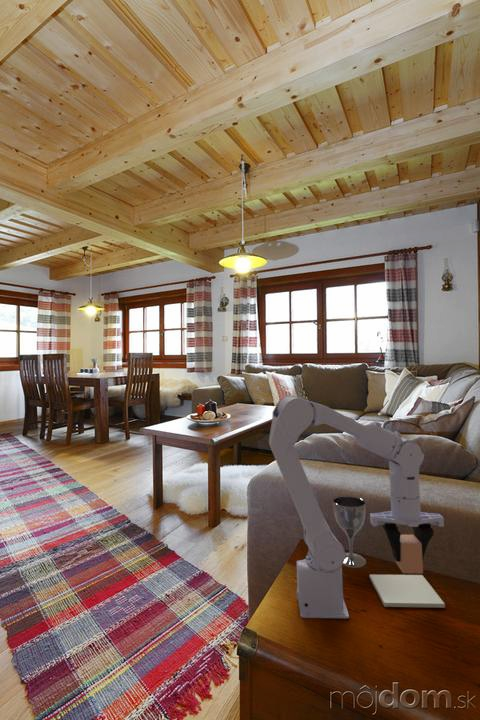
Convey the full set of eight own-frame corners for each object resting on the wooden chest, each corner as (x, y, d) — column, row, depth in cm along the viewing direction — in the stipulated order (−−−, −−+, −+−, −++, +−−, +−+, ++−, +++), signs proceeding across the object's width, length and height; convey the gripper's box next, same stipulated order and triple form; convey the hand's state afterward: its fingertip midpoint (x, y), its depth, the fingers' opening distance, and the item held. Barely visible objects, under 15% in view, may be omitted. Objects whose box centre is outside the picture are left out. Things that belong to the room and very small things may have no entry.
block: (402, 573, 71) (401, 543, 71) (395, 562, 75) (394, 534, 75) (423, 573, 71) (421, 543, 71) (414, 562, 75) (413, 534, 75)
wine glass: (373, 559, 89) (370, 500, 90) (359, 572, 83) (356, 509, 84) (344, 549, 95) (342, 493, 95) (329, 561, 89) (327, 502, 89)
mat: (384, 606, 71) (384, 602, 71) (369, 578, 81) (369, 574, 81) (444, 607, 70) (444, 603, 70) (422, 578, 80) (422, 575, 80)
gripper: (375, 501, 70) (378, 569, 70) (450, 501, 69) (453, 570, 69) (366, 489, 77) (368, 551, 77) (433, 489, 76) (436, 552, 76)
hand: (408, 559), depth 73 cm, fingers closed on block, 4 cm apart
